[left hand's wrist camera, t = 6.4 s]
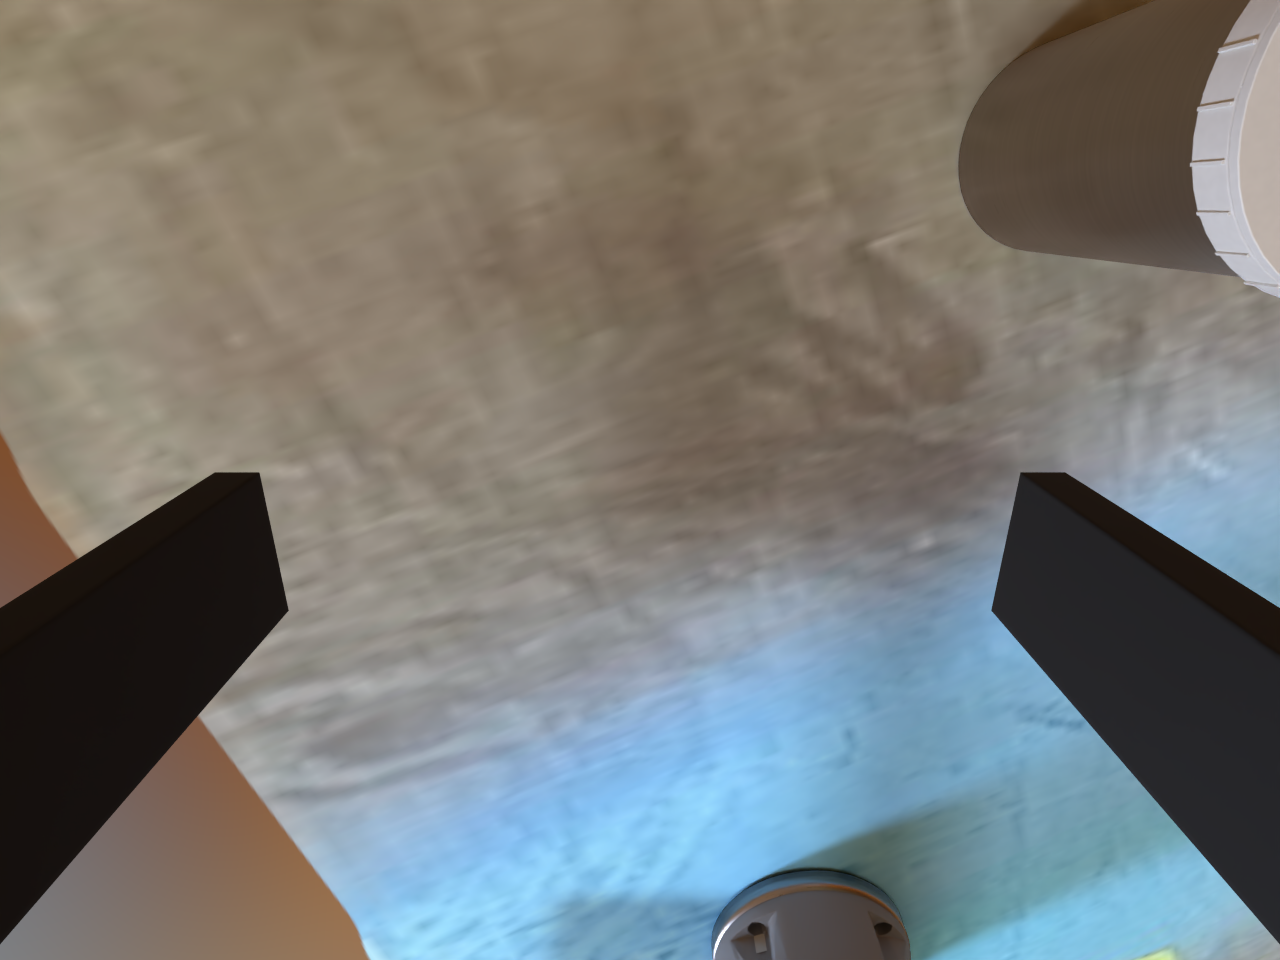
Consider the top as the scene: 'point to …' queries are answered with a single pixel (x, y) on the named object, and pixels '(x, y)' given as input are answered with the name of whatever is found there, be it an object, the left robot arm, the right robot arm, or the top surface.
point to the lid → (1243, 149)
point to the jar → (1100, 140)
